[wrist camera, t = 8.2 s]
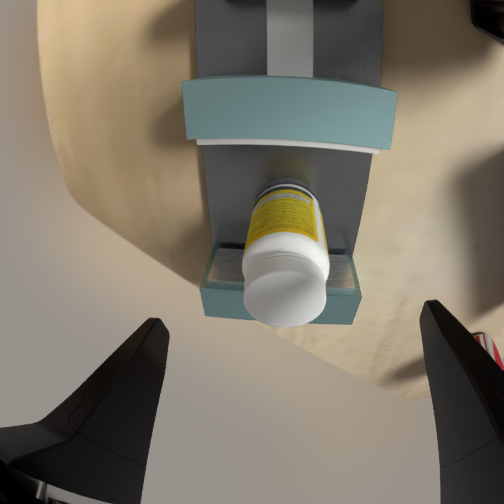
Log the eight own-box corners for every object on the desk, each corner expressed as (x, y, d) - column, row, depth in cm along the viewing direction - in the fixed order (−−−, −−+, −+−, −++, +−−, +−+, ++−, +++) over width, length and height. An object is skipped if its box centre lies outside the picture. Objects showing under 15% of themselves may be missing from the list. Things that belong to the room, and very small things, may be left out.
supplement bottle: (239, 205, 20) (213, 291, 13) (295, 169, 18) (299, 246, 11) (279, 250, 22) (273, 342, 15) (332, 221, 20) (350, 311, 13)
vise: (198, -41, 10) (169, -67, 6) (375, -34, 9) (404, -59, 5) (218, 270, 25) (205, 315, 21) (343, 277, 24) (351, 324, 20)
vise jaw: (202, -28, 10) (171, -55, 6) (373, -22, 9) (403, -47, 5) (208, 128, 17) (181, 153, 13) (367, 135, 16) (395, 164, 12)
